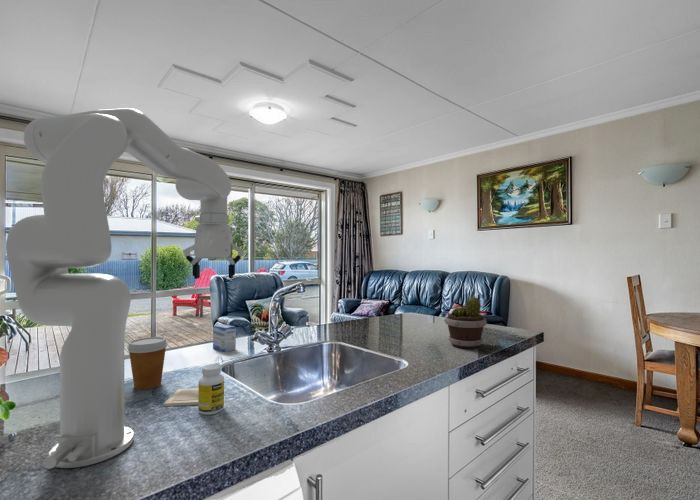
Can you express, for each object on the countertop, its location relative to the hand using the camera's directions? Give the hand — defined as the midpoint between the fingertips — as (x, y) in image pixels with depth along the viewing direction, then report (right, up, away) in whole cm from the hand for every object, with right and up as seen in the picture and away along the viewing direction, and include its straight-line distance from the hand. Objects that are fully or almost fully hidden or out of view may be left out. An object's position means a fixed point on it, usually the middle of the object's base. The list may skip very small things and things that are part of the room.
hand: (214, 278), depth 107 cm
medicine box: (-6, -28, +26) cm, 39 cm away
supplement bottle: (+9, -28, -26) cm, 39 cm away
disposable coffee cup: (-14, -28, -10) cm, 33 cm away
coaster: (+1, -28, -18) cm, 33 cm away
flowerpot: (+84, -28, +29) cm, 93 cm away
